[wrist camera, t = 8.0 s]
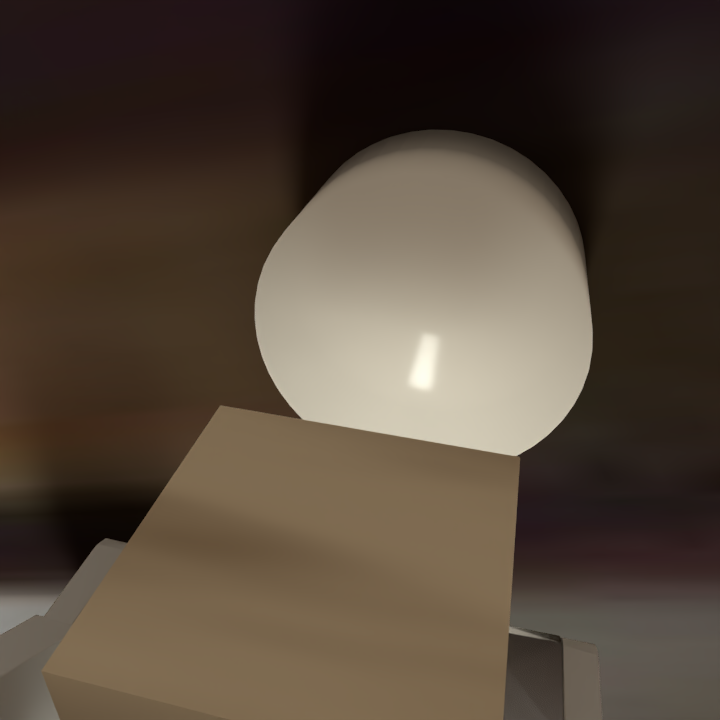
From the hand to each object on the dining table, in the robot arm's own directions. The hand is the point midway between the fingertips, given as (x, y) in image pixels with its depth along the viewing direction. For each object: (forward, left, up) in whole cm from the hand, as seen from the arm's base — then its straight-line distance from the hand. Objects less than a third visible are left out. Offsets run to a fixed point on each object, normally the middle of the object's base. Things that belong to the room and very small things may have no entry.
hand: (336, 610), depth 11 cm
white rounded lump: (0, 0, -13) cm, 13 cm away
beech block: (0, 0, -2) cm, 2 cm away
